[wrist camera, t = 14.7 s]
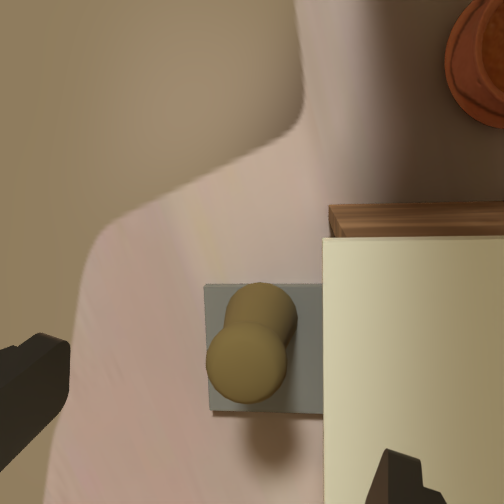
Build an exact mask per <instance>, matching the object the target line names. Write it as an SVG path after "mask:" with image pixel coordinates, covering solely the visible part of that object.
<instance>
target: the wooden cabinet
mask: <svg viewBox="0 0 504 504" xmlns="http://www.w3.org/2000/svg"><path fill="white" fill-rule="evenodd" d="M329 222H330V225H331V227H332V230H333V232H334V235H335V237H336V238H322V305H323V475H324V504H365V501H366V498H367V495H368V492H369V489H370V487H371V484H372V481H373V478H374V476H375V473H376V470H377V468H378V465H379V462H380V459H381V457H382V454H383V452H384V450H385V449H386V448H388V449H391V450H394V451H397V452H400V453H403V454H406V455H409V456H412V457H415V458H418V459H420V461H421V466H422V477H423V486H424V487H426V488H429V489H432V490H435V491H438V492H441V494H442V496H443V498H444V499H445V501H446V503H447V504H504V201H478V202H432V203H386V204H341V205H329Z"/></svg>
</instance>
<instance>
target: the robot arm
mask: <svg viewBox="0 0 504 504" xmlns="http://www.w3.org/2000/svg"><path fill="white" fill-rule="evenodd" d="M69 376H70V344H69V343H68V342H67V341H65V340H62V339H59V338H56V337H53V336H50V335H47V334H44V333H37V334H35V335H33V336H32V337H31V338H29V339H28V340H26V341H25V342H24V343H22V344H21V345H19V346H18V347H17V346H14V345H13V346H10V347H7V348H4V349H2V350H0V472H1V471H2V470H3V469H4V468H5V467H6V466H7V465H8V464H9V463H10V462H11V461H12V459H14V458H15V457H16V456H17V455H18V454H19V453H20V452H21V451H22V450H23V449H24V448H25V447H26V446H27V445H28V444H29V443H30V442H31V441H32V440H33V438H35V437H36V436H37V435H38V434H39V432H41V431H42V430H43V429H44V427H46V426H47V424H49V423H50V422H51V421H52V420H53V419H54V418H55V417H56V416H57V415H58V413H59V412H60V411H61V409H62V408H63V406H64V404H65V402H66V400H67V397H68V393H69ZM365 504H447V503H446V501H445V499H444V498H443V496H442V494H441V492H438V491H435V490H432V489H429V488H426V487H424V486H423V477H422V466H421V461H420V459H418V458H415V457H412V456H409V455H406V454H403V453H400V452H397V451H394V450H391V449H388V448H386V449H385V450H384V452H383V454H382V457H381V459H380V462H379V465H378V468H377V470H376V473H375V476H374V478H373V481H372V484H371V487H370V489H369V492H368V495H367V498H366V501H365Z"/></svg>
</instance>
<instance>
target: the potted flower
mask: <svg viewBox="0 0 504 504" xmlns="http://www.w3.org/2000/svg"><path fill="white" fill-rule="evenodd" d="M444 65H445V75H446V79H447V83H448V86H449V89H450V91H451V93H452V95H453V97H454V98H455V100H456V101H457V103H458V104H459V106H460V107H461V108H462V109H463V110H464V111H465V112H466V113H467V114H468V115H470V116H471V117H473V118H474V119H475V120H477V121H479V122H481V123H483V124H485V125H488V126H492V127H495V128H501V129H504V0H473V1H472V2H471V3H470V4H469V5H468V6H467V7H466V8H465V10H464V11H463V12H462V14H461V15H460V16H459V18H458V19H457V21H456V23H455V25H454V26H453V28H452V30H451V33H450V36H449V39H448V42H447V46H446V51H445V64H444Z"/></svg>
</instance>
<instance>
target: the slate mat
mask: <svg viewBox="0 0 504 504" xmlns="http://www.w3.org/2000/svg"><path fill="white" fill-rule="evenodd" d="M246 285H248V284H206V285H205V286H204V304H205V325H206V345H207V350H208V348H209V346H210V344H211V341H212V340H213V338H214V337H215V336H216V335H217V334H218V333H219V332H220V331H221V330H222V329H223V326H224V319H225V313H226V307H227V305H228V303H229V300H230V298H231V297H232V296H233V295H234V294H235V293H236V292H237V290H239V289H240V288H242V287H244V286H246ZM272 285H275V286H277V287H279V288H281V289H282V290H283V291H284V292H286V293H287V294H288V295H289V296H290V297H291V299H292V301H293V303H294V304H295V306H296V311H297V315H298V320H297V328H296V330H295V332H294V335H293V337H292V339H291V340H290V342H289V344H288V346H287V348H286V354H287V359H288V363H287V372H286V377H285V379H284V381H283V383H282V385H281V387H280V388H279V389H278V390H277V391H276V392H275V393H274V394H273V395H272V396H271V397H270V398H268V399H266V400H264V401H262V402H260V403H254V404H241V403H235V402H233V401H231V400H229V399H226V398H224V397H223V396H222V395H221V394H220V393H219V392H217V391H216V390H215V389H214V387H213V385H212V384H211V382H210V380H209V378H208V387H209V407H210V410H217V411H249V412H281V413H313V414H323V305H322V284H272Z"/></svg>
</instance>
